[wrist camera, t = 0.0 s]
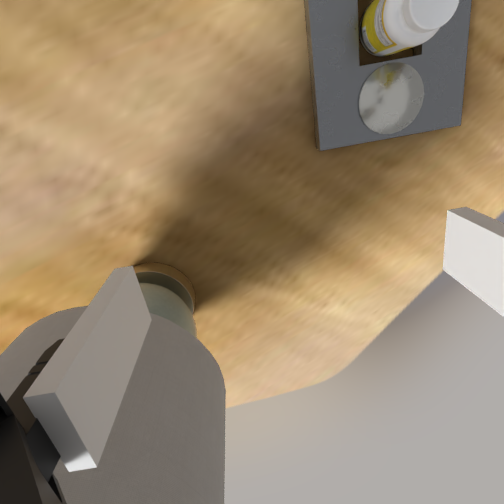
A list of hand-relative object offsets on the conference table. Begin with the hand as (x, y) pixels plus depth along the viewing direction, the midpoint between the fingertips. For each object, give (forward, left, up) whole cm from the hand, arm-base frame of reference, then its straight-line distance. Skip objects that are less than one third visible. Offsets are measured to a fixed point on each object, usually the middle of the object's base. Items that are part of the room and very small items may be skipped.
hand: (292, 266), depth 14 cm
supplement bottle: (-11, +16, -28) cm, 34 cm away
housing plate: (-11, +16, -28) cm, 34 cm away
